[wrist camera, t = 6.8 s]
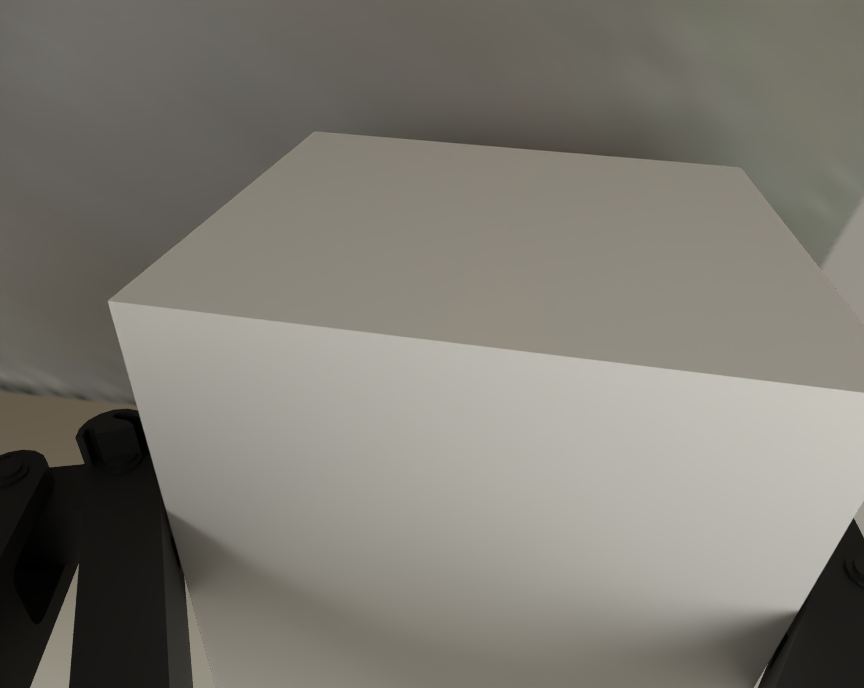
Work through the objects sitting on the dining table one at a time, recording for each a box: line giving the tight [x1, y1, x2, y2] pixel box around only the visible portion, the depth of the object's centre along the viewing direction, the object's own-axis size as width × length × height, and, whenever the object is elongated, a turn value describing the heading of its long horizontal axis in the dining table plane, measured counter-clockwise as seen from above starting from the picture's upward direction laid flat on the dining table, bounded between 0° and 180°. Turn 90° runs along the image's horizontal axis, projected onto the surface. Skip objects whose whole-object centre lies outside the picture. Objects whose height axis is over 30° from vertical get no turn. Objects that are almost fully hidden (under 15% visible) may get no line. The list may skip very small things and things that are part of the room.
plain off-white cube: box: [108, 131, 864, 688], centre depth 14 cm, size 10×10×9 cm
